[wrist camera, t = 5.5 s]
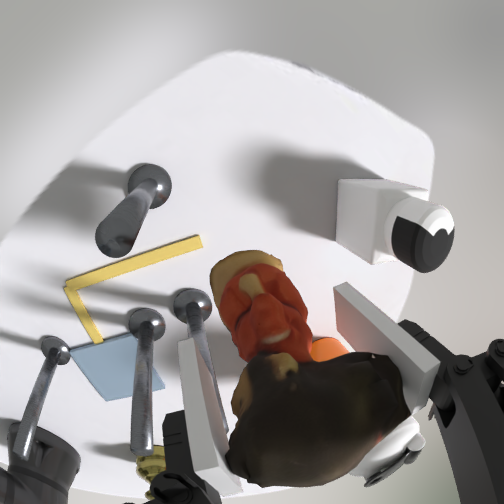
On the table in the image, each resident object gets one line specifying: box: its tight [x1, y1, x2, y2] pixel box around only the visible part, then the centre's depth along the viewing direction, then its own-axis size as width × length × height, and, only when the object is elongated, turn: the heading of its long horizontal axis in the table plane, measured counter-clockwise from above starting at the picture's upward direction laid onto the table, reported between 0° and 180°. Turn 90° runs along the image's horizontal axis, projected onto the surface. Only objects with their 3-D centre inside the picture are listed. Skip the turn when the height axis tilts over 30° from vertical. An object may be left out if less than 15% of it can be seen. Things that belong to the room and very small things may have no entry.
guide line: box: [64, 235, 203, 344], centre depth 28 cm, size 16×8×1 cm, turn 104°
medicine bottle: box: [335, 179, 454, 273], centre depth 26 cm, size 7×7×12 cm
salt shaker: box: [136, 446, 166, 500], centre depth 33 cm, size 7×7×10 cm
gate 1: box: [12, 308, 165, 461], centre depth 21 cm, size 17×4×16 cm, turn 104°
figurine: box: [210, 250, 411, 488], centre depth 12 cm, size 6×6×12 cm
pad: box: [69, 333, 165, 401], centre depth 30 cm, size 9×9×1 cm
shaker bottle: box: [310, 338, 425, 487], centre depth 28 cm, size 9×9×20 cm
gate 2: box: [95, 164, 229, 434], centre depth 20 cm, size 4×17×16 cm, turn 14°
